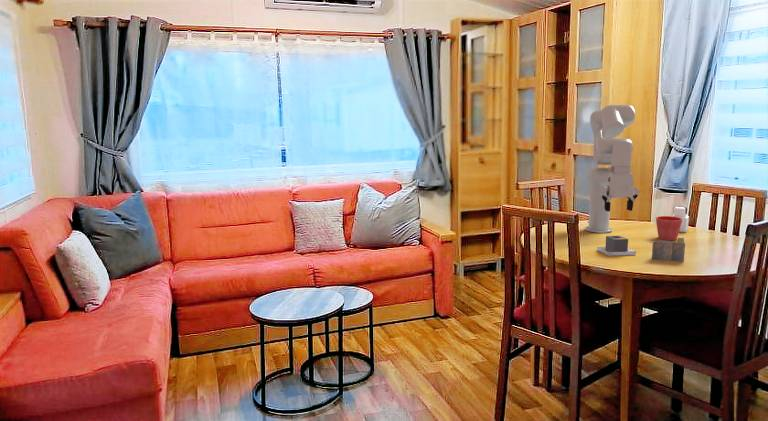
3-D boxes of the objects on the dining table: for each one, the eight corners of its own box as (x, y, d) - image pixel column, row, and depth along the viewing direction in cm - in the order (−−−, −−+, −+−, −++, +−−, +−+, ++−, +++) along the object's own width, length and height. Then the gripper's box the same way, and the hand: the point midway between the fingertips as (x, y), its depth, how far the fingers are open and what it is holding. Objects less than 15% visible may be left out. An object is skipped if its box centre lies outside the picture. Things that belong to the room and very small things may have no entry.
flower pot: (675, 242, 260) (676, 221, 259) (650, 238, 268) (652, 218, 267) (684, 238, 267) (686, 218, 266) (660, 235, 275) (661, 215, 274)
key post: (597, 250, 247) (597, 236, 246) (623, 249, 248) (624, 235, 247) (608, 256, 237) (609, 241, 236) (635, 254, 238) (636, 240, 237)
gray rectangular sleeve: (605, 247, 246) (606, 235, 245) (618, 246, 246) (619, 234, 245) (613, 251, 238) (614, 239, 238) (627, 250, 239) (628, 238, 238)
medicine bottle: (672, 228, 290) (673, 205, 288) (687, 229, 286) (689, 206, 284) (669, 230, 284) (671, 207, 282) (685, 232, 280) (687, 208, 278)
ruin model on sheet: (682, 260, 230) (684, 236, 229) (683, 262, 228) (685, 238, 226) (651, 258, 234) (653, 235, 232) (652, 260, 231) (654, 236, 229)
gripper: (605, 171, 232) (603, 212, 235) (645, 170, 234) (642, 211, 237) (596, 169, 239) (594, 209, 242) (635, 168, 241) (633, 208, 244)
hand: (618, 210), depth 240 cm, fingers open, 9 cm apart
